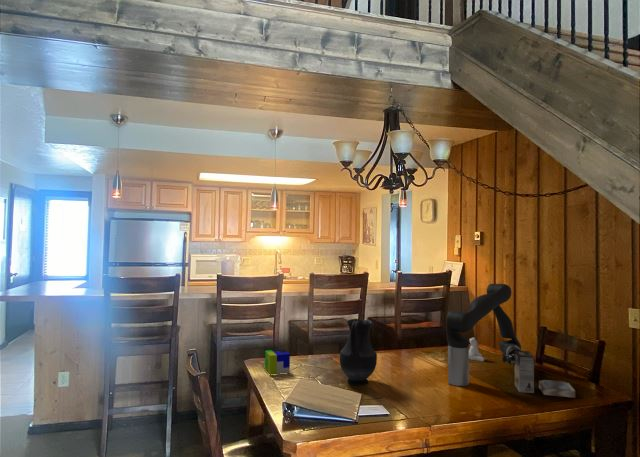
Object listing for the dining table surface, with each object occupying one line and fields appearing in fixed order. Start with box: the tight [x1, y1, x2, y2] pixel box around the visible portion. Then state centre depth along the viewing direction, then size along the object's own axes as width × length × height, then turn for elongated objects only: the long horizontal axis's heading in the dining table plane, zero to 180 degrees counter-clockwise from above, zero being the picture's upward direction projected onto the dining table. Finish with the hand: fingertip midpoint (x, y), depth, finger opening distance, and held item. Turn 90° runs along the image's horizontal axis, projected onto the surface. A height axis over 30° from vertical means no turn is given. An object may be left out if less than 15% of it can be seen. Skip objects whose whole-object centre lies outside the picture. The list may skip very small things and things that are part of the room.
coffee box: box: [514, 350, 535, 394], centre depth 193 cm, size 9×6×16 cm
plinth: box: [538, 379, 576, 399], centre depth 189 cm, size 12×11×3 cm
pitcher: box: [339, 318, 378, 386], centre depth 200 cm, size 17×21×30 cm
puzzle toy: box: [264, 348, 291, 375], centre depth 216 cm, size 10×10×10 cm
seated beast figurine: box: [468, 337, 485, 363], centre depth 241 cm, size 10×9×12 cm
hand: (520, 363), depth 202 cm, fingers open, 8 cm apart
